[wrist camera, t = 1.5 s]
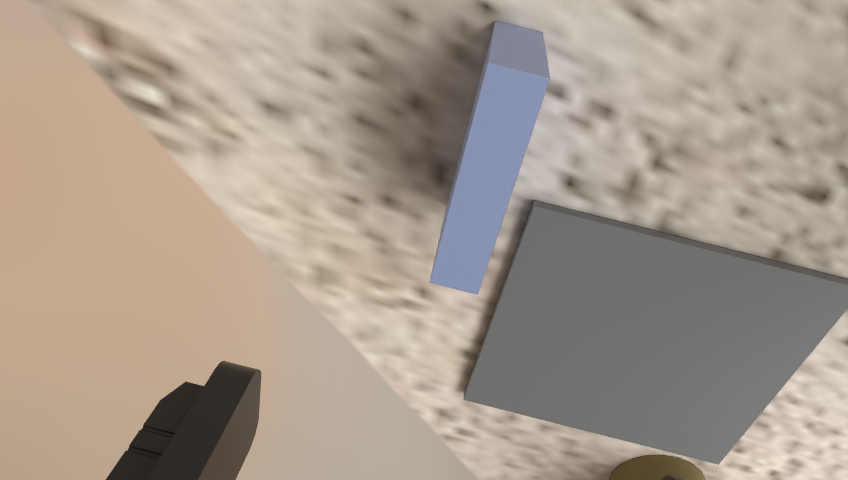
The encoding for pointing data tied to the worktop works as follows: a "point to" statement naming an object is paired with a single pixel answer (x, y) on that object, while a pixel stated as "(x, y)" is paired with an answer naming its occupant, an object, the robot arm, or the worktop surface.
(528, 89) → the card deck
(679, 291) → the mat
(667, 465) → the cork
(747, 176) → the worktop surface
